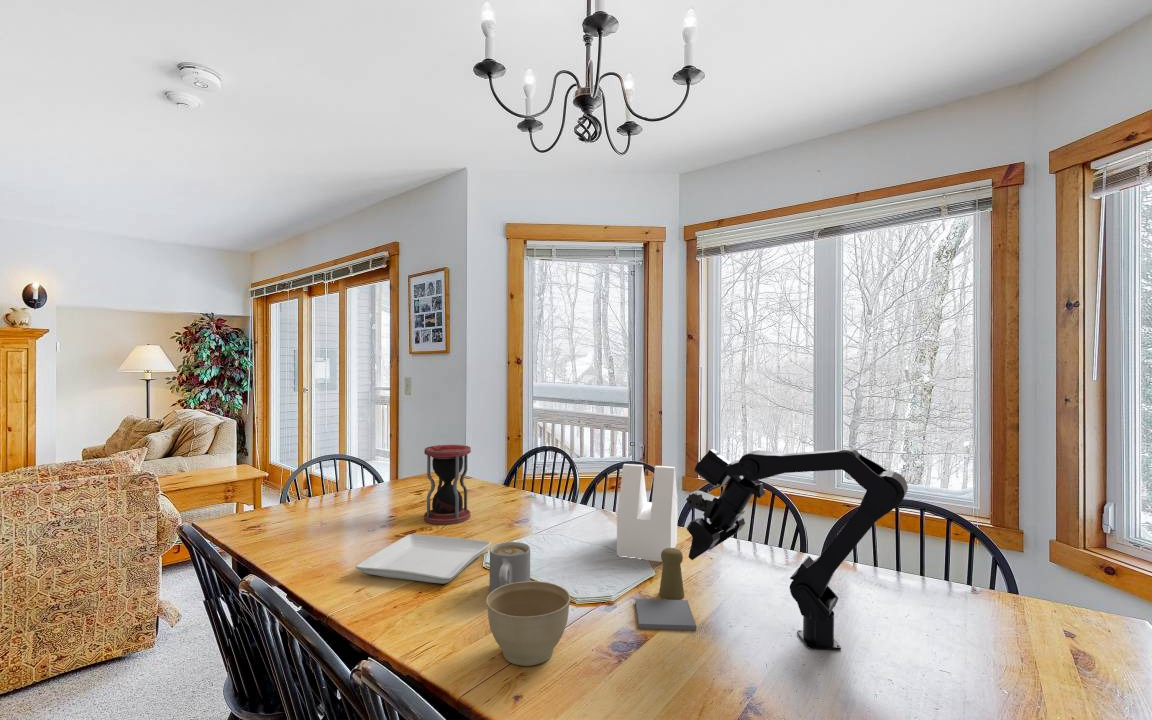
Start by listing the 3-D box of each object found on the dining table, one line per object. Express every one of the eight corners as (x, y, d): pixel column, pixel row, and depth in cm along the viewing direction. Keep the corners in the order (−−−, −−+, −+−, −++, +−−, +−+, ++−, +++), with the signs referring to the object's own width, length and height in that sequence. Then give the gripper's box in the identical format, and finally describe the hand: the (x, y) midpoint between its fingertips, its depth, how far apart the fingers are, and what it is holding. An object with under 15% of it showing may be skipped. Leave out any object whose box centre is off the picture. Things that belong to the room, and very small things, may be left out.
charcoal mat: (696, 630, 114) (696, 625, 114) (638, 628, 114) (638, 623, 114) (687, 604, 126) (687, 600, 126) (635, 602, 126) (635, 598, 126)
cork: (684, 601, 127) (684, 554, 127) (658, 599, 128) (658, 552, 128) (684, 590, 133) (684, 546, 133) (659, 588, 134) (659, 544, 134)
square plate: (352, 580, 139) (353, 565, 139) (409, 544, 166) (410, 532, 166) (449, 591, 133) (449, 575, 133) (492, 553, 159) (492, 539, 159)
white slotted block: (670, 563, 152) (671, 474, 152) (616, 557, 156) (617, 470, 156) (677, 541, 170) (677, 461, 170) (628, 536, 174) (629, 458, 174)
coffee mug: (499, 578, 140) (500, 540, 140) (535, 583, 137) (536, 544, 137) (475, 600, 127) (476, 558, 127) (515, 606, 124) (515, 563, 124)
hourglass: (457, 509, 204) (457, 442, 204) (478, 519, 191) (479, 448, 191) (416, 516, 193) (416, 447, 193) (436, 528, 181) (436, 453, 181)
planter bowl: (585, 645, 107) (585, 591, 107) (538, 688, 93) (539, 625, 93) (519, 625, 115) (519, 574, 115) (468, 661, 102) (468, 603, 102)
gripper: (720, 472, 132) (690, 521, 136) (685, 483, 117) (652, 538, 122) (759, 501, 126) (726, 552, 130) (727, 518, 111) (691, 574, 116)
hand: (699, 553), depth 125 cm, fingers open, 9 cm apart
